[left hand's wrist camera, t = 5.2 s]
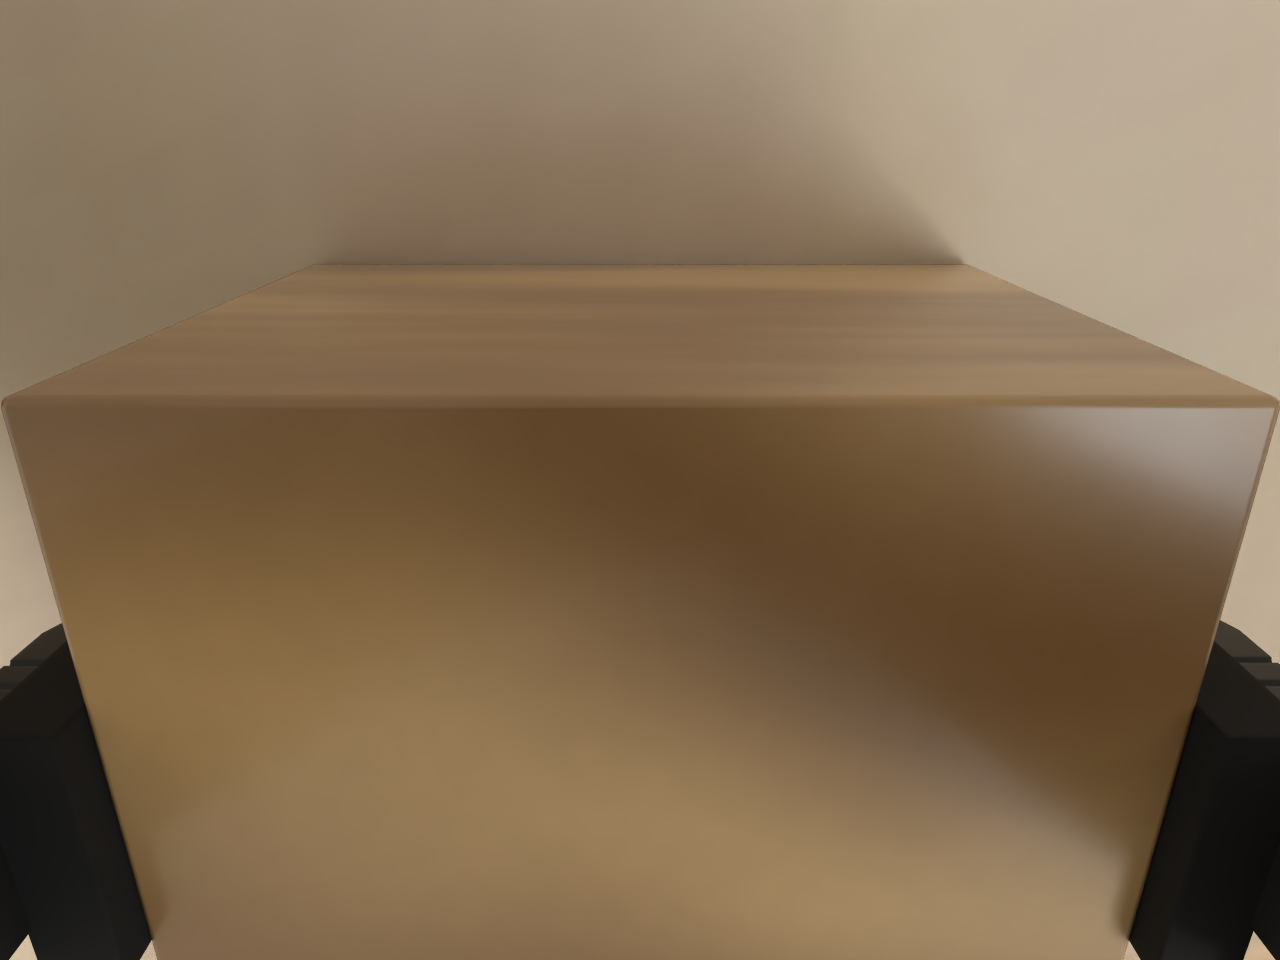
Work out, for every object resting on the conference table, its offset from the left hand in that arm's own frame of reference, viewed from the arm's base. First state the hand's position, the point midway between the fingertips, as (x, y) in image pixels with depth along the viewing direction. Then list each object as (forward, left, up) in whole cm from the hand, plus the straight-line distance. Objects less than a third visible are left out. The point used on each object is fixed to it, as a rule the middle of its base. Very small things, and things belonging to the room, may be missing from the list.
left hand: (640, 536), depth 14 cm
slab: (+26, +19, 0) cm, 33 cm away
